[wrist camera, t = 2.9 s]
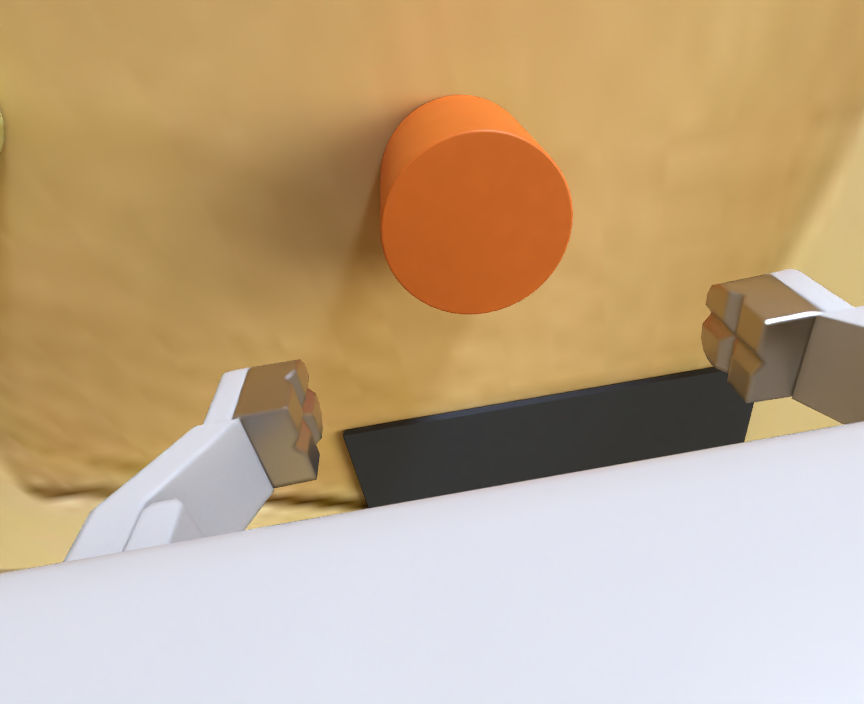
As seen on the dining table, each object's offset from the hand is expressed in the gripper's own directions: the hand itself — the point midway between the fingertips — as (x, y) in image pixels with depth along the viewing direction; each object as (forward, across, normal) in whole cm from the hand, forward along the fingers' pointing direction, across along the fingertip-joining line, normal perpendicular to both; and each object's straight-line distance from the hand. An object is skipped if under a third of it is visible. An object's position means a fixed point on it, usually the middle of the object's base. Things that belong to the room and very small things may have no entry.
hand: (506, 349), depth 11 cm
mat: (+11, -3, +17) cm, 20 cm away
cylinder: (+10, 0, 0) cm, 11 cm away
